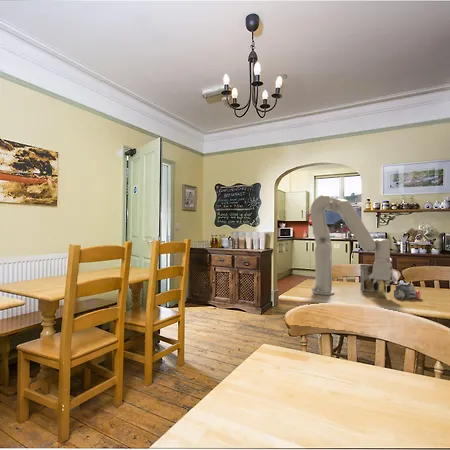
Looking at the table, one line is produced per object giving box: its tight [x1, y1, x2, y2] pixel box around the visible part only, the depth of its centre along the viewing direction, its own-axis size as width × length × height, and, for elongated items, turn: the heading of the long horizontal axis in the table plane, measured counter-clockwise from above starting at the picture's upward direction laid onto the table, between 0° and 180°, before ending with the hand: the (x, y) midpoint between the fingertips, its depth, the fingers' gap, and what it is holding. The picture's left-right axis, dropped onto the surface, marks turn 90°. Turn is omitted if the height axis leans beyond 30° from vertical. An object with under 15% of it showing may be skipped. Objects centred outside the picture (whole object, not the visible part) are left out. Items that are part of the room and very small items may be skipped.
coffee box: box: [359, 264, 378, 292], centre depth 193 cm, size 9×6×16 cm
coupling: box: [377, 280, 387, 299], centre depth 175 cm, size 4×4×10 cm
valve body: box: [393, 283, 421, 301], centre depth 175 cm, size 16×11×7 cm
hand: (382, 291), depth 175 cm, fingers open, 6 cm apart
